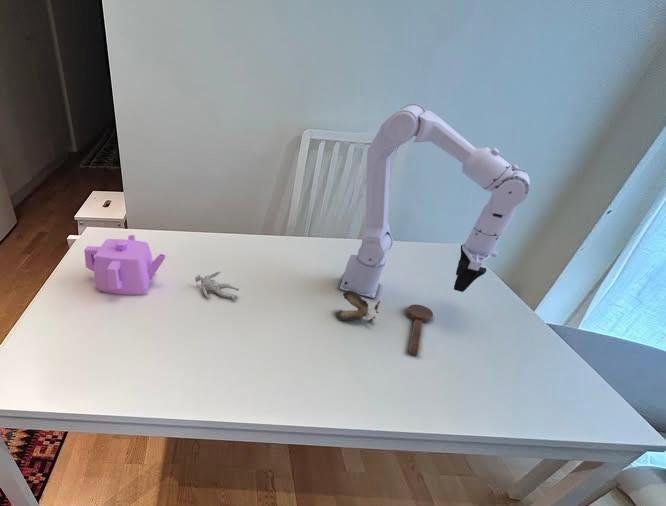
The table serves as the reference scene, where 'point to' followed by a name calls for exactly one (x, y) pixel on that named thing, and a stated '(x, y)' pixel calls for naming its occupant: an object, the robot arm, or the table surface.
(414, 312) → the round wooden paddle
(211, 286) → the soldier figure
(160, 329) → the table surface
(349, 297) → the eagle figurine
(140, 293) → the teakettle
